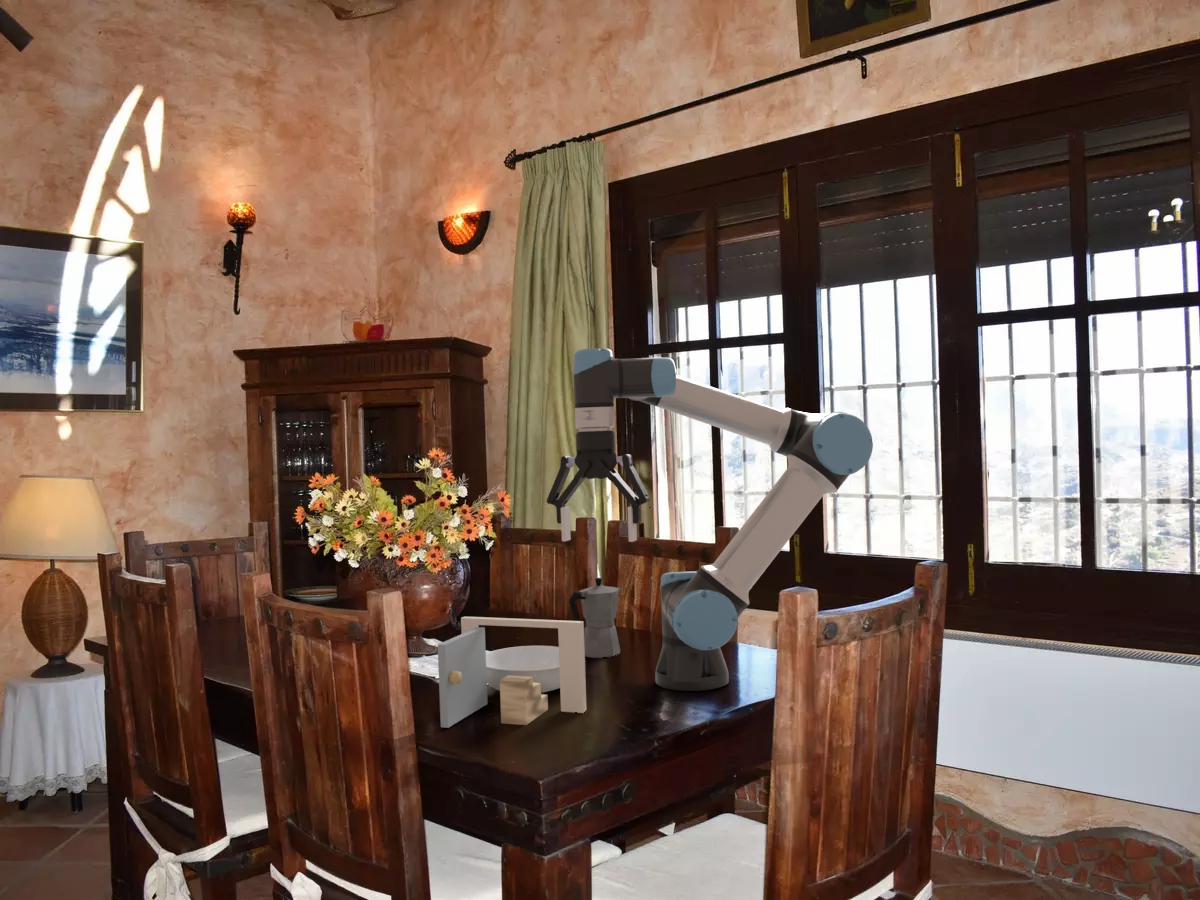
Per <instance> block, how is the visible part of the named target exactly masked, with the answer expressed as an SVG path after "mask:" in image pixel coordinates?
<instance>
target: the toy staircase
mask: <svg viewBox="0 0 1200 900" xmlns="http://www.w3.org/2000/svg"><path fill="white" fill-rule="evenodd" d="M499 695H500V699H499V700H500V701H499V702H500V724H507V725H508V724H509V725H519V726H520V725H522V726H527V725H528V724H530V723H531V722H532V721H534V720H535V719H537V718H539V717H540V716H541V715H543V714H544V713H546V712H547V711H548V710H549V699H548V698H549V697H548V694H545V693H542V694H541V683H534V682H533V677H524V676H509V675H508V676H506V677H504V678H503V679H501V680H500V691H499Z"/></svg>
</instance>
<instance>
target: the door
mask: <svg viewBox="0 0 1200 900" xmlns="http://www.w3.org/2000/svg"><path fill="white" fill-rule="evenodd" d="M485 629H486V627H484V626H479V627H477V628H474V629H472V630H470V631H468V632H465V633H463V634H462V633H461V634H459V635H457V636H456V635H455V636H454V637H452V638H450V639H447V640H444V641H443V642H441V643H438V644H437V657H438V659H437V663H438V667H437V668H438V687H439V688H438V690H439V712H440V713H439V714H440V715H439V717H440V728H446V729H447V728H448V729H449V728H450V727H452V726H453V725H455V724H457V723H459V722H460V721H462V720H463V719H465V718H467V717H469V716H470V715H472V714H473V713H475V712H477V711H478V710H480V709H482V708H483V707H484V706H487V705H488V684H487V676H486V653H487V652H486V650H487V649H486V630H485Z"/></svg>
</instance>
